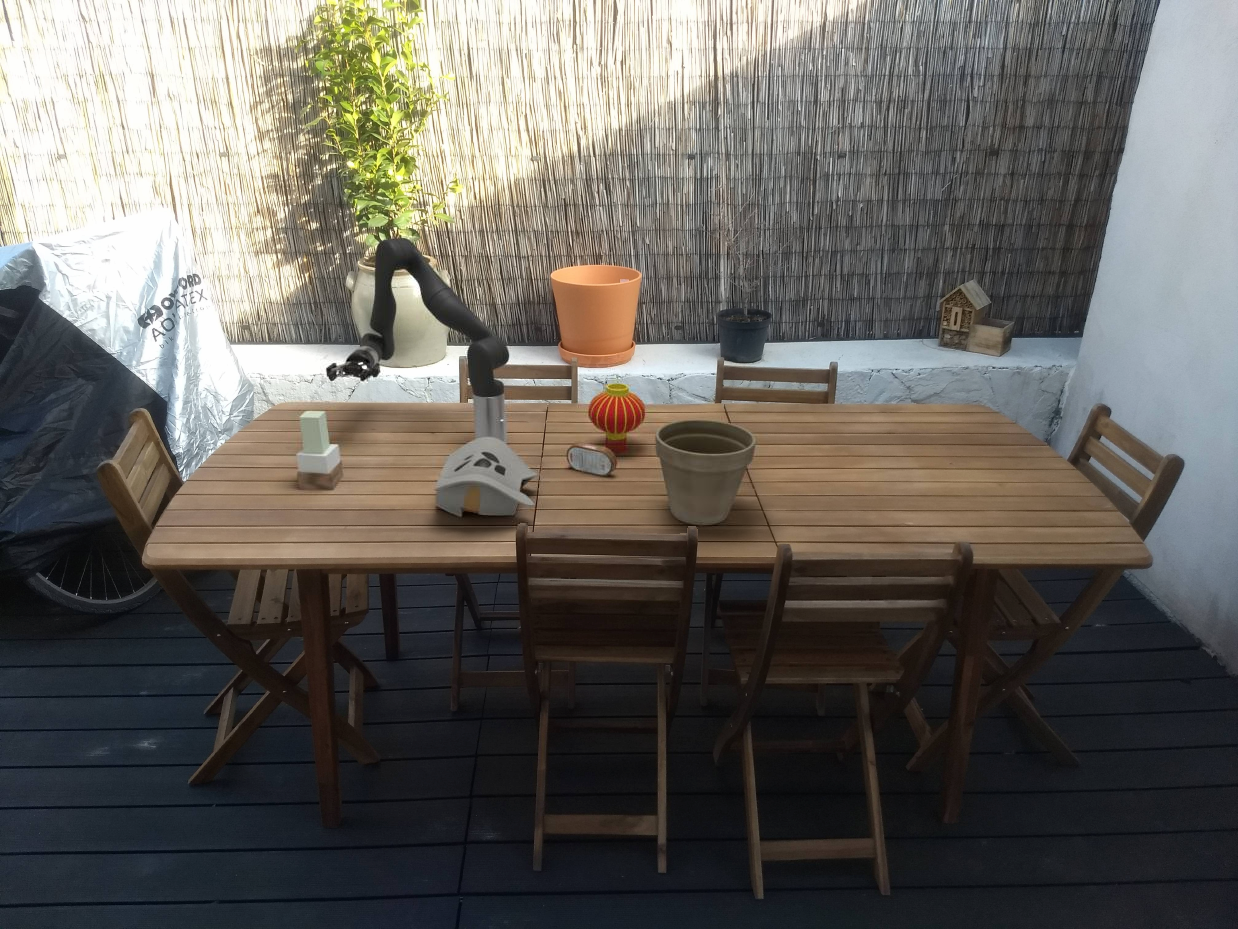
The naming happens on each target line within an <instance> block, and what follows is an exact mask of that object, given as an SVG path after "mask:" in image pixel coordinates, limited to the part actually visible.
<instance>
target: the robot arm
mask: <svg viewBox="0 0 1238 929" xmlns="http://www.w3.org/2000/svg"><path fill="white" fill-rule="evenodd" d="M374 254H375V255H374V257H375V258H374V299H373V304H372V310H371V315H370V320H369V321H370V322H369V327H370V328H371V330H373V331H374V332H375V333H377V334H374V333H372V332H371V333H370V332H368V333H364V334H363V336H361V338H360V342H359V347H357V348H356V349H355V350H353V352H352V353H351V354H350V355H348V357H347V358H346V360H345V362H344V363H342V364H339V365H338V364H337V363H336V362H333V363H331V364H330V365H329V366H327V367H325V373H326V377H327V378H328V380H329V381H330V382H334V381H335V380H336V379H337V378H347V377H352V376H353V377H355V378H358V379H360V382H364V381H365V380H368V379H369V378H371V377H372V378H378V376H379V374H381V366H380V362H381V360H382V361H389V360H391V359H392V357H393V356H394V353H395V349H396V348H395V339H394V324H395V320H396V315H397V302H396V298H395V295H394V292H393V287H392V281H393V277H394V274H395V271H396V272H398V271H403V270H405V271H406V272H407V273H409V274H410V276H412V278H413V279H414V280H415V281H416V282H417V283H418V288H419V290H420V291H419V292H420V296H421V300H422V303H423V305H424V307H425V308H426V309H427V311H429V313H430V314H432V316H433V317H434V318H435V319H436V320H437V321H438V322H439V323H441V324H442V325H444V326H445V327H447V328H449V329H451V330H453V331H456V332H457V333H460V334H462V335H463V336H465V337H466V338H467V339H468V340H470V341H471V342H472V343H470V344H469V346H468V348H467V352H466V364H467V370H468V371H467V372H468V381H469V384H470V386H471V389H472V402H473V403H472V404H473V407H472V408H473V425H474V440H475V439H478V438H482V437H494V438H497V439H499V440H501V441H503V442H504V443H505V444H507V445H508V429H507V426H508V425H507V424H508V423H507V422H508V421H507V414H506V408H505V407H506V404H505V385H504V382H503V381H502V380H499V379H495V378H494V370H497V369H499V368H501V367H503V366H505V365H506V364H507V363H508V362H509V360H510V352H509V348H508V346H507V345H506V343H505V341H503V339H502V338H501V337H500V336H499V335H498V334H497V333H496V332H494V331H493V330H492V329H491V328H489V327H488V326H487V324H485V323H484V322H483V321H482V320H481V319H480V318H479V317H478V316H477V315H476V314H475V312H473V311H472V310H471V309H470V308H469V307H468V306H467V305H466V304H465V303H464V302H463V300H462V299H461V297H459V296H458V295H457V293H456V292H455V291H454V290H453V289H452V288H451V287H450V286H449V285H448V284H447V283H446V282H445V281H444V279H442V277H441V276H440V274H438V272H436V271H435V269H434V268H433V267H432V266H431V265H430V263H429V262H428V260H427V259H426V258H425V256H424V255H423V254H422V252H421V251H420V249H419V248H417V246H416V245H415V243H413V242H412V241H411V239H408V238H406V237H395V238H386V239H382V240H381V241H379V242H378V244H377V246H376V249H375V253H374ZM378 334H379V335H378Z"/></svg>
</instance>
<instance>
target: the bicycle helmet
mask: <svg viewBox="0 0 1238 929" xmlns="http://www.w3.org/2000/svg"><path fill="white" fill-rule="evenodd" d="M540 476H541V475H540V473H537V472H535V471H533V470H532V469H531V468H530V467H529V466H528V465H527V464H526V463H525V462H524V461H523V460H522V459H521V458H520V456H518V454H517V453H516V452H515V451H514V450H513V449H512V448H511V447H510V446H509V445H508V443H507V444H505V443H504V442H503V441H501V440H499V439H497V438H494V437H482V438H478V439H475V438H474V439H473V440H470V441H468V442H467V443H465V444H464V445H462V446H461V447H459V448H458V449H456V450H455V451H454V452H452V453H451V454H450V455H448V456H447V457H446V460H445V462H444V465H443V468H442V469H441V471H440V474H439V477H438V479H437V482H436V484H435V487H434V489H433V490H434V491H435V492H436V494H435V506H436V507H438V508H440V509H442V510H444V511H445V512H448V513H450V514H453V515H455V516H457V517H460V518H462V517H463V513H464V512H470V513H474V514H478V515H483V516H514V515H515V513H516V511H517V509H518V508H517V507H518V505H519V504H520V505H522V506H524V507H530V508H531V507H532V508H533V507H536V504H535V503H534V502H533V500H532V499H531V498H530V497H528V495H526V494H525V493H523V489H524V488H523V487H525V485H527V484H528V483H529V482H530V481H532V480H533V479H534V478H537V477H540Z"/></svg>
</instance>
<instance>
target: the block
mask: <svg viewBox="0 0 1238 929" xmlns="http://www.w3.org/2000/svg"><path fill="white" fill-rule="evenodd" d="M326 415H327V414H326V411H324V410H320V411H319V410H306V411H305V412H303V413H302V414H301V415H300V416H299V417H298V419H299V420H298V421H299V426H300V432H301V439H302V447H303V448H304V453H324V452H325V451H326V450H327V449H328V448H329V447H330V438H329V436H330V435H329V431H328V423H327V416H326Z"/></svg>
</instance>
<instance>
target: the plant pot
mask: <svg viewBox="0 0 1238 929" xmlns="http://www.w3.org/2000/svg"><path fill="white" fill-rule="evenodd" d="M654 442H655V444H654V445H655V446H654V447H655V454H656V456H657V457H658V458H659V460H660V466H661V472H662V476H663V480H664V485H665V489H666V495H667V499H668V505H669V508H670V512H671V515H672V516H673V517H674V518H676V519H677V520H678V521H681V522H682V523H686V524H690V525H695V526H712V525H717V524H720V523H722V522H723V521H725V520H726V519H727V517H728V515H729V513H730V510H731V509H732V506H733V504H734V501H735V498H736V496H737V494H738V491H739V488H740V486H741V483H742V482H743V478H744V476H745V473H746V472H747V468H748V466H749V464H751V463H752V461H753V459H754V455H755V449H756V444H757V439H756V437H755V435H754V434H753V433H752V432H751V431H749V430H748V429H746V428H744V427H742V426H740V425H737V424H735V423H731V422H727V421H722V420H716V419H705V418H691V419H690V418H687V419H681V420H680V419H679V420H676V421H671V422H667V423H666V424H664V425H662V426H660V427H659V428H657V430H656V431H655V440H654Z"/></svg>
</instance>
